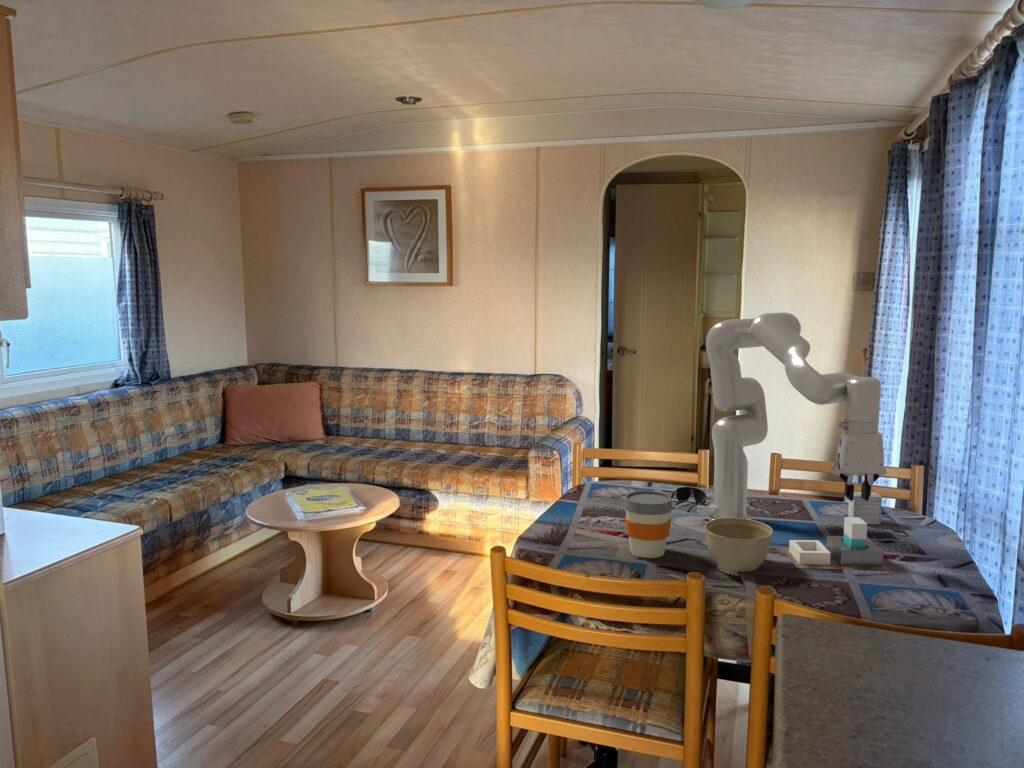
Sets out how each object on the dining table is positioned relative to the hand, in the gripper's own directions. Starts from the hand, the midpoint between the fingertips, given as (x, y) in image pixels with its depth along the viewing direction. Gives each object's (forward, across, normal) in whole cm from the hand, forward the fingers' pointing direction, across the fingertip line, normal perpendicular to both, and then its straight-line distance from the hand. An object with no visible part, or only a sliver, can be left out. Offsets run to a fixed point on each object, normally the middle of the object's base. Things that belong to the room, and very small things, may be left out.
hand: (857, 498), depth 185 cm
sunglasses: (+18, -35, +46) cm, 61 cm away
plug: (+16, 0, 0) cm, 16 cm away
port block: (+16, 0, 0) cm, 16 cm away
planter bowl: (+17, -30, -5) cm, 35 cm away
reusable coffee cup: (+17, -51, +6) cm, 54 cm away
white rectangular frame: (+16, -11, 0) cm, 19 cm away
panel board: (+17, -5, 0) cm, 18 cm away
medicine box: (+18, +15, +33) cm, 40 cm away
